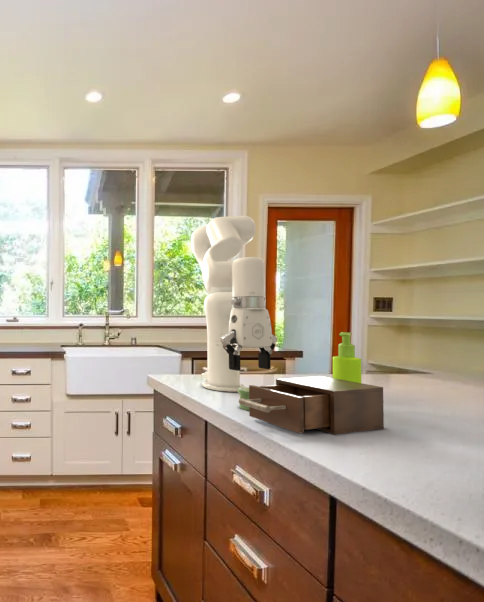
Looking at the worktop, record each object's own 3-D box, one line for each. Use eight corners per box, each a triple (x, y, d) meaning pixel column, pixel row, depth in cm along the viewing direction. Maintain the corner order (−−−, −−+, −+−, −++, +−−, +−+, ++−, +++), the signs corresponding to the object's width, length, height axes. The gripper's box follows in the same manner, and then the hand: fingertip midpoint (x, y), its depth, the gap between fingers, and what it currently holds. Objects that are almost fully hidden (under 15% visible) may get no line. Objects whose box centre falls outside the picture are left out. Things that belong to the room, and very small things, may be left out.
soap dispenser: (330, 407, 98) (329, 332, 98) (335, 402, 103) (334, 331, 103) (359, 412, 94) (358, 333, 94) (363, 406, 98) (362, 332, 98)
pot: (233, 406, 99) (232, 387, 99) (249, 405, 100) (249, 386, 100) (249, 412, 94) (249, 392, 94) (266, 410, 95) (266, 391, 95)
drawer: (277, 436, 74) (277, 399, 74) (229, 418, 86) (229, 386, 86) (347, 427, 79) (347, 393, 79) (293, 411, 91) (292, 382, 91)
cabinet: (334, 434, 77) (334, 391, 77) (276, 416, 90) (275, 379, 90) (383, 428, 81) (383, 387, 81) (321, 411, 94) (320, 375, 94)
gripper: (233, 303, 91) (234, 372, 91) (287, 304, 96) (288, 370, 95) (211, 304, 99) (211, 368, 98) (262, 304, 103) (263, 366, 103)
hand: (249, 369), depth 97 cm, fingers open, 9 cm apart
